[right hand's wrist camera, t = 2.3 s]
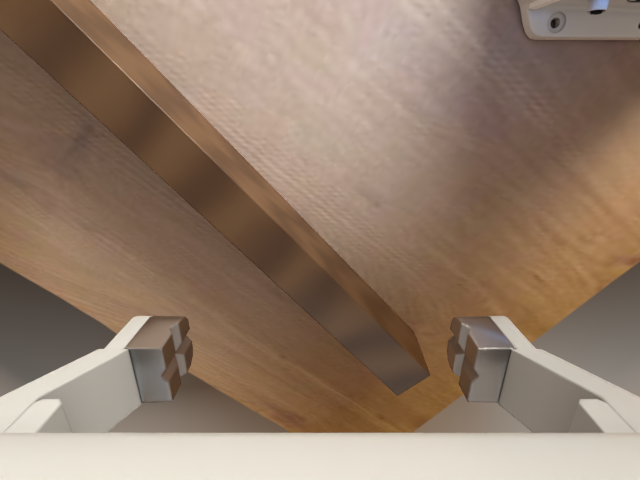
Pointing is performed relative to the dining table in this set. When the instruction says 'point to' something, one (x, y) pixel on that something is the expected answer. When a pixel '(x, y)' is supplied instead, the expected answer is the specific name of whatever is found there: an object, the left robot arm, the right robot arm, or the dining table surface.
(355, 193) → the dining table surface
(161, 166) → the beam
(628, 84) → the dining table surface
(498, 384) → the right robot arm
